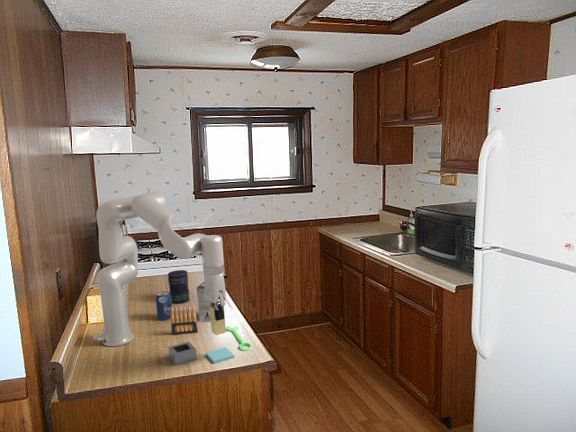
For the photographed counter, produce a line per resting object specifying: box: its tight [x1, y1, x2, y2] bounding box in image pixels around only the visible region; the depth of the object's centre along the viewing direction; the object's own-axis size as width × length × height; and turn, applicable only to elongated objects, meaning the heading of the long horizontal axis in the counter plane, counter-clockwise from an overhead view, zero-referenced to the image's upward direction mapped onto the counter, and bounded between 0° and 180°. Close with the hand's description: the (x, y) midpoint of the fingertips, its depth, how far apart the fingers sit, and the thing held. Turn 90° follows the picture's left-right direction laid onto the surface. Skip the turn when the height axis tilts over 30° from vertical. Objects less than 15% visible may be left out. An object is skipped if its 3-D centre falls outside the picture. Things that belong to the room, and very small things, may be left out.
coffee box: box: [196, 281, 211, 322], centre depth 205 cm, size 9×6×16 cm
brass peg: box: [210, 303, 227, 336], centre depth 165 cm, size 4×4×10 cm
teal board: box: [205, 346, 235, 364], centre depth 167 cm, size 8×8×1 cm
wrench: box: [225, 325, 253, 352], centre depth 183 cm, size 25×2×5 cm
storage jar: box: [167, 269, 190, 305], centre depth 229 cm, size 10×10×15 cm
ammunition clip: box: [170, 304, 198, 336], centre depth 189 cm, size 11×2×12 cm, turn 97°
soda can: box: [155, 290, 173, 321], centre depth 207 cm, size 7×7×12 cm
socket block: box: [167, 341, 198, 366], centre depth 167 cm, size 8×8×4 cm
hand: (217, 317), depth 165 cm, fingers closed on brass peg, 4 cm apart
